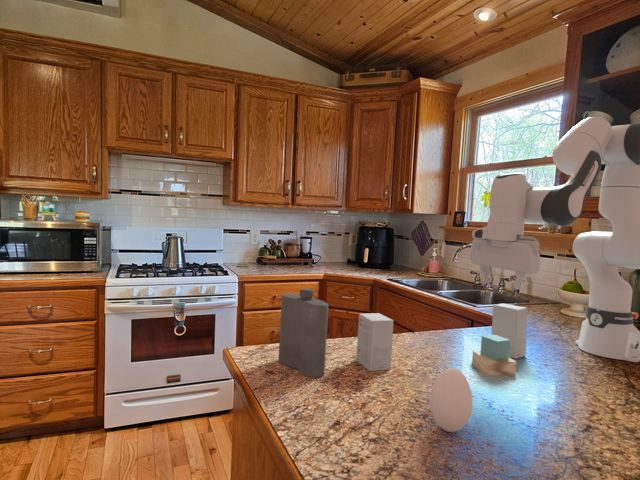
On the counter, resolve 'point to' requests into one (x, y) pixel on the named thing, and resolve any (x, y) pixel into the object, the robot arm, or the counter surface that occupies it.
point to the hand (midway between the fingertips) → (500, 285)
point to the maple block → (494, 365)
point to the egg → (451, 400)
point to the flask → (303, 333)
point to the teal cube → (495, 347)
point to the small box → (374, 341)
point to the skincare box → (511, 327)
